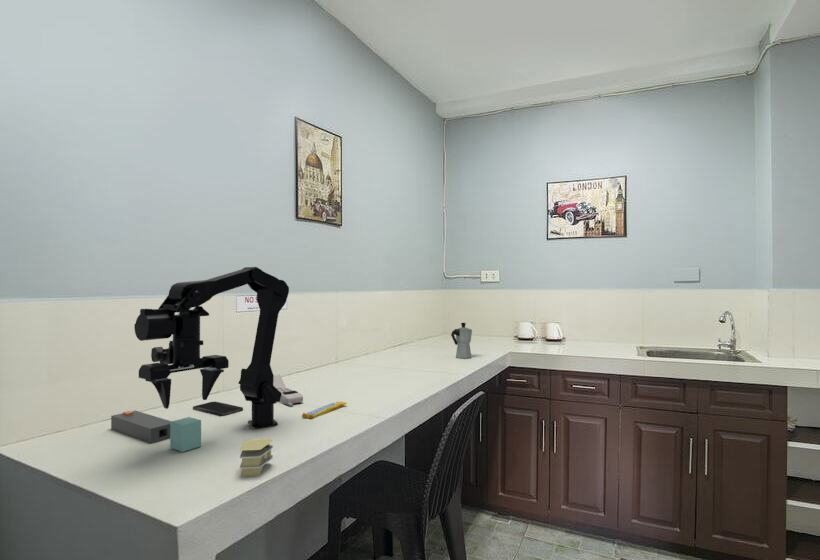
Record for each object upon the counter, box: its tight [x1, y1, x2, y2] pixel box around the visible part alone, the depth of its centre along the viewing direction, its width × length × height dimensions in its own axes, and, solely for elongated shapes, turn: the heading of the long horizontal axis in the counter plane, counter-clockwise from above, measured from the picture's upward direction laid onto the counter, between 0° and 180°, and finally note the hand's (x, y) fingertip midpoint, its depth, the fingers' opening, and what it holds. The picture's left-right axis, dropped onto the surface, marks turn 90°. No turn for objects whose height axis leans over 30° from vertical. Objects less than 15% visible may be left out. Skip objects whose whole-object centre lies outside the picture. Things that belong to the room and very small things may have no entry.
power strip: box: [110, 410, 172, 444], centre depth 117 cm, size 20×6×4 cm, turn 56°
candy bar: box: [301, 401, 348, 420], centre depth 136 cm, size 17×4×2 cm, turn 151°
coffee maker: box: [450, 322, 473, 360], centre depth 235 cm, size 15×9×18 cm, turn 130°
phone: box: [192, 401, 244, 417], centre depth 138 cm, size 8×1×15 cm
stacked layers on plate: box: [239, 437, 274, 477], centre depth 93 cm, size 10×9×6 cm
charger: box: [169, 416, 202, 453], centre depth 107 cm, size 8×4×6 cm, turn 56°
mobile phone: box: [273, 374, 304, 407], centre depth 152 cm, size 6×6×25 cm
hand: (186, 403), depth 106 cm, fingers open, 9 cm apart
